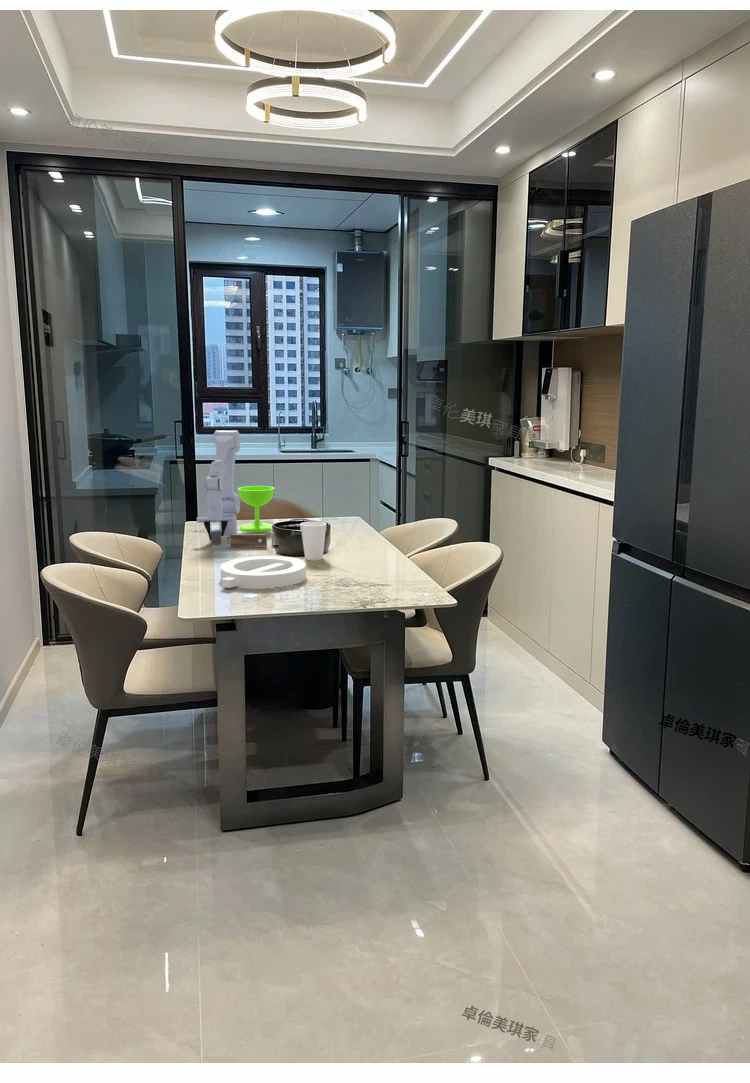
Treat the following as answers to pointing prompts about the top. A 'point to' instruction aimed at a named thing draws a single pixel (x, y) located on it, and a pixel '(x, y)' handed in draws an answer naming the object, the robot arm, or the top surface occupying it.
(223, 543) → the pale green rectangular bar
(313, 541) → the foam cup
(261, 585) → the ring with crossbar
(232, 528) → the robot arm
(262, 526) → the wineglass
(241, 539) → the brown rectangular bar
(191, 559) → the top surface
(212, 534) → the grey notched block
